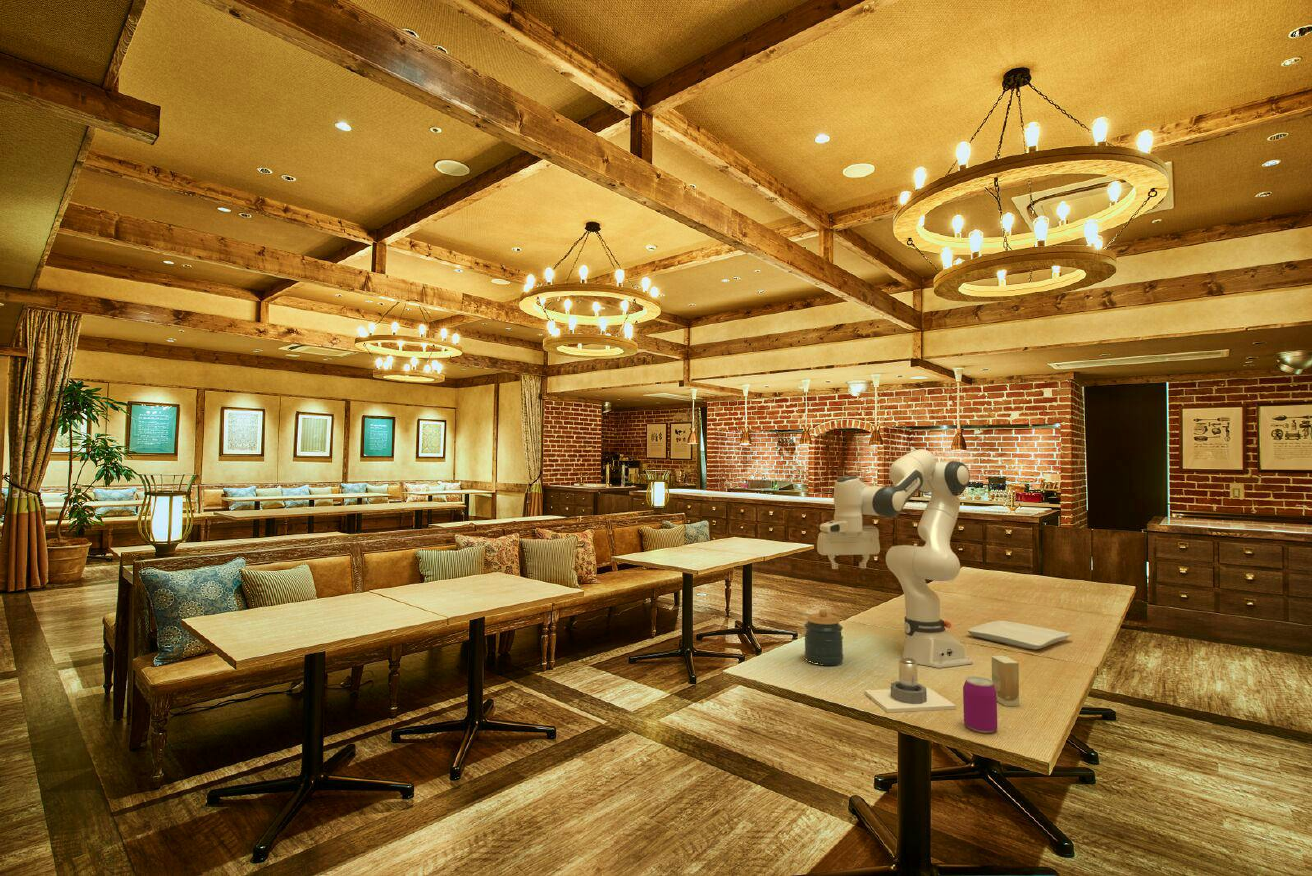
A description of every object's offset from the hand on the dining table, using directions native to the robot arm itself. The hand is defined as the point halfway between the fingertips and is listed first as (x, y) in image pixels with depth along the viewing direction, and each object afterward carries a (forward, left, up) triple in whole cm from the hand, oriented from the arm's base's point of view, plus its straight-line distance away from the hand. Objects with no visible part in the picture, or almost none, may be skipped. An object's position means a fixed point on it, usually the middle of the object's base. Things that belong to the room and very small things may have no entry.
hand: (848, 568), depth 198 cm
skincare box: (-34, +27, -34) cm, 55 cm away
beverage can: (-16, +42, -34) cm, 57 cm away
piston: (-7, +23, -33) cm, 41 cm away
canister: (+3, -15, -34) cm, 38 cm away
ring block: (-7, +23, -34) cm, 42 cm away
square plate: (-82, -31, -35) cm, 94 cm away
